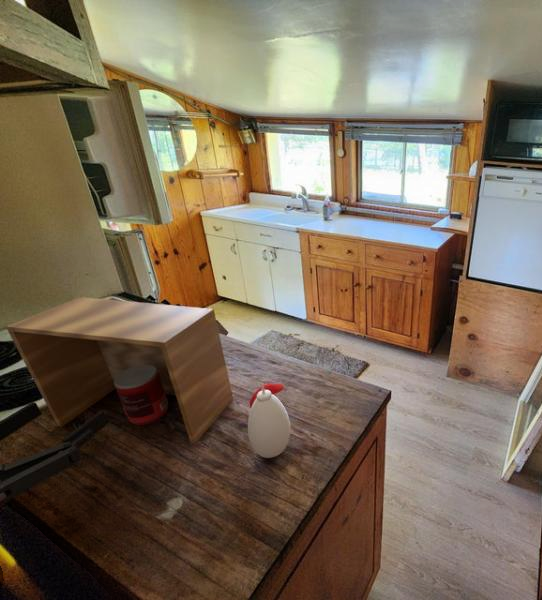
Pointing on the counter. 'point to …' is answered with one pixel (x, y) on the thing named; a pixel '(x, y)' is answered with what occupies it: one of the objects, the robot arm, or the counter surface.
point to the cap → (271, 387)
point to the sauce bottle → (268, 425)
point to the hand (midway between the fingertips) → (71, 412)
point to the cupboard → (125, 355)
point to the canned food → (141, 394)
